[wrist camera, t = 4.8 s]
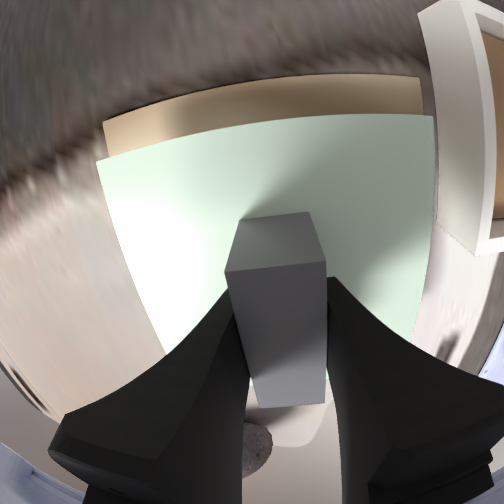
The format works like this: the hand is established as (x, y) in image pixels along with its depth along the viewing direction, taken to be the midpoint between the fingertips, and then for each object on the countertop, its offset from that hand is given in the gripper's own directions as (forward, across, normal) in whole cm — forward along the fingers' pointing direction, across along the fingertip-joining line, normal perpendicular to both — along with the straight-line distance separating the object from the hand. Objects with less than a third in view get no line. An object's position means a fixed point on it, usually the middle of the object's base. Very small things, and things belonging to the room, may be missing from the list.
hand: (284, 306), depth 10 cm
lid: (+4, 0, 0) cm, 4 cm away
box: (+6, -15, -6) cm, 17 cm away
